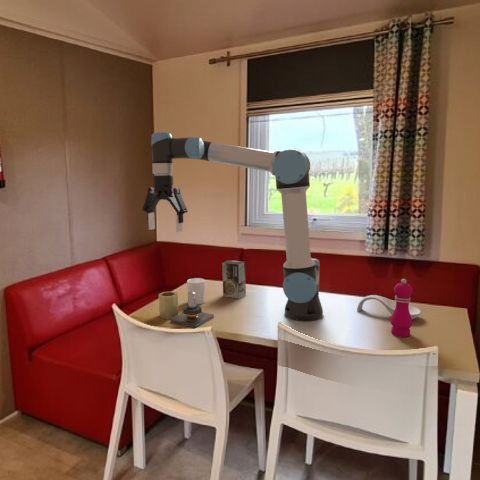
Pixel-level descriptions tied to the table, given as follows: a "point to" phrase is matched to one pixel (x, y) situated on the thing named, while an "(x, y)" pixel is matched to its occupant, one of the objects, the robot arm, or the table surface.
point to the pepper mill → (402, 310)
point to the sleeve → (168, 305)
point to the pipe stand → (192, 319)
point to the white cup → (197, 289)
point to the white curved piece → (389, 305)
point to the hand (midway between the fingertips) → (165, 230)
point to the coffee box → (234, 279)
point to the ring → (192, 312)
